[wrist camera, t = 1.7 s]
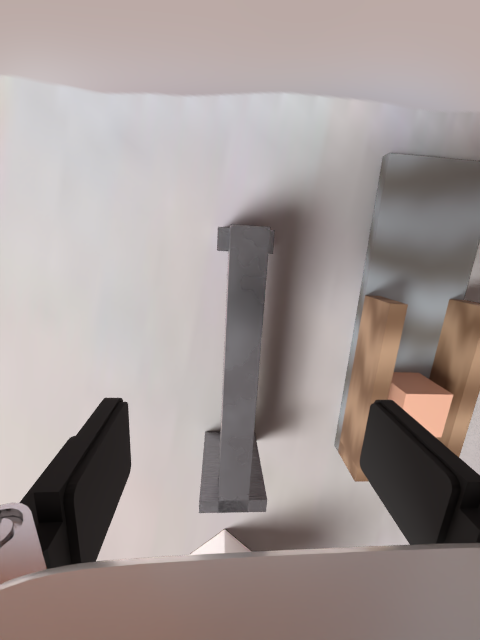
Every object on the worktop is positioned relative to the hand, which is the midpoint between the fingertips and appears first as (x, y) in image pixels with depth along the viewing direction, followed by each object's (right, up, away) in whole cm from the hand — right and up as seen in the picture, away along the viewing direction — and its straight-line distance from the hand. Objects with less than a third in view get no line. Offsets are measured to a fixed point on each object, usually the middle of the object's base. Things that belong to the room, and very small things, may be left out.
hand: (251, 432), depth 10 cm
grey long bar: (-1, +1, +17) cm, 17 cm away
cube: (+16, -3, +18) cm, 24 cm away
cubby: (+16, +4, +18) cm, 24 cm away
